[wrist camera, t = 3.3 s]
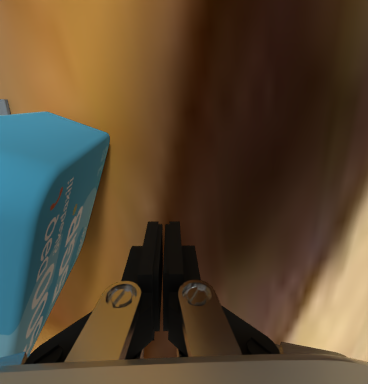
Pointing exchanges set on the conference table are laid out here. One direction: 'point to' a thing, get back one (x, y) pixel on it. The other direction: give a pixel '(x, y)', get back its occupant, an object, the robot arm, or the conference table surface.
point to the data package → (42, 215)
